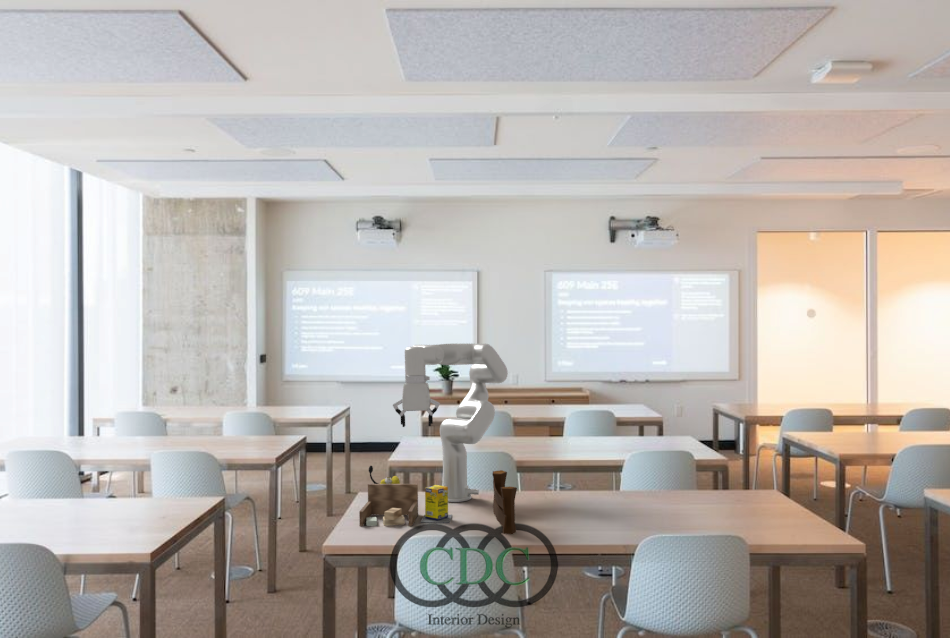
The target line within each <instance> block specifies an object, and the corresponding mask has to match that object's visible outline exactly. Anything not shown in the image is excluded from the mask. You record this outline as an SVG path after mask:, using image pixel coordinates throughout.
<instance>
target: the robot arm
mask: <svg viewBox="0 0 950 638" xmlns="http://www.w3.org/2000/svg"><path fill="white" fill-rule="evenodd" d="M426 365H428V366H436V365H441V366H442V365H443V366H461V365H467V366H468V365H471V366H470V369H469V371H468V373H469V374H468V375H469V376H468V377H469V381H470V384H469V386H470V387H469V391H468V392H467V394H466V395H465V396H464V398H463V400H461V402H460V403H459V404H458V407H457V408H456V412H455V417H449V418H446V419H444V420H443V421H442V422H441V423H440V425H439V436H440V440H441V447H442V448H441V449H442V486H446V487H448V503H461V502H462V503H464V502H467V501H469V500H472V495H479V491H480V490H479V489H477V488H469V487H470V486H469V485H468V454H467V449H466V447H465V445H475V444H477V443H478V442H480V441H481V439H482V438H483V437H484V436H485V434H486V432H487V430H488V429H489V427H490V426H491V425H492V423H493V421H494V419H495V414H496V411H495V409H496V408H495V406H494V405H493V403H492V402H491V401H489V396H490V395H489V391H488V388H487V386H486V384H502V383H504V382H505V381H506V380H507V377H508V375H509V374H508V369H507V365H506V364H505V362H504V360H503V359H502V357H501V356H500V354H499V353H498V351H497V350H496V349H495V348H494V347H493V346H492V345H490V344H488V343H441V344H414V345H412V346H407V347H405V349H404V373H405V374H404V375H405V377H404V378H405V379H404V381H405V383H403V387H402V399H400V400H398V401H396V402H395V403H393V404H392V407H393V410H395V412H396V413H397V414H398V415H399V416H400V425H402V428H405V427H406V415H405V413H406V412H422V411H426V412H427V413H428V416H427V417H428V419H427V420H428V427H431V426H432V424H434V421H433V420H434V419H433V415H434V414H435V413H436V412H437V411H438V409H439V406H440V404H441V403H440V402H439V401H437V400H435V399H432V398H431V395H430V387H429V384H428V383H429V382H427V381H430V379H431V378H430V377H431V376H428V375H426ZM431 404H432V405H434V407H433V409H431ZM399 405H402V410H400V409H399V407H398V406H399Z"/></svg>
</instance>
